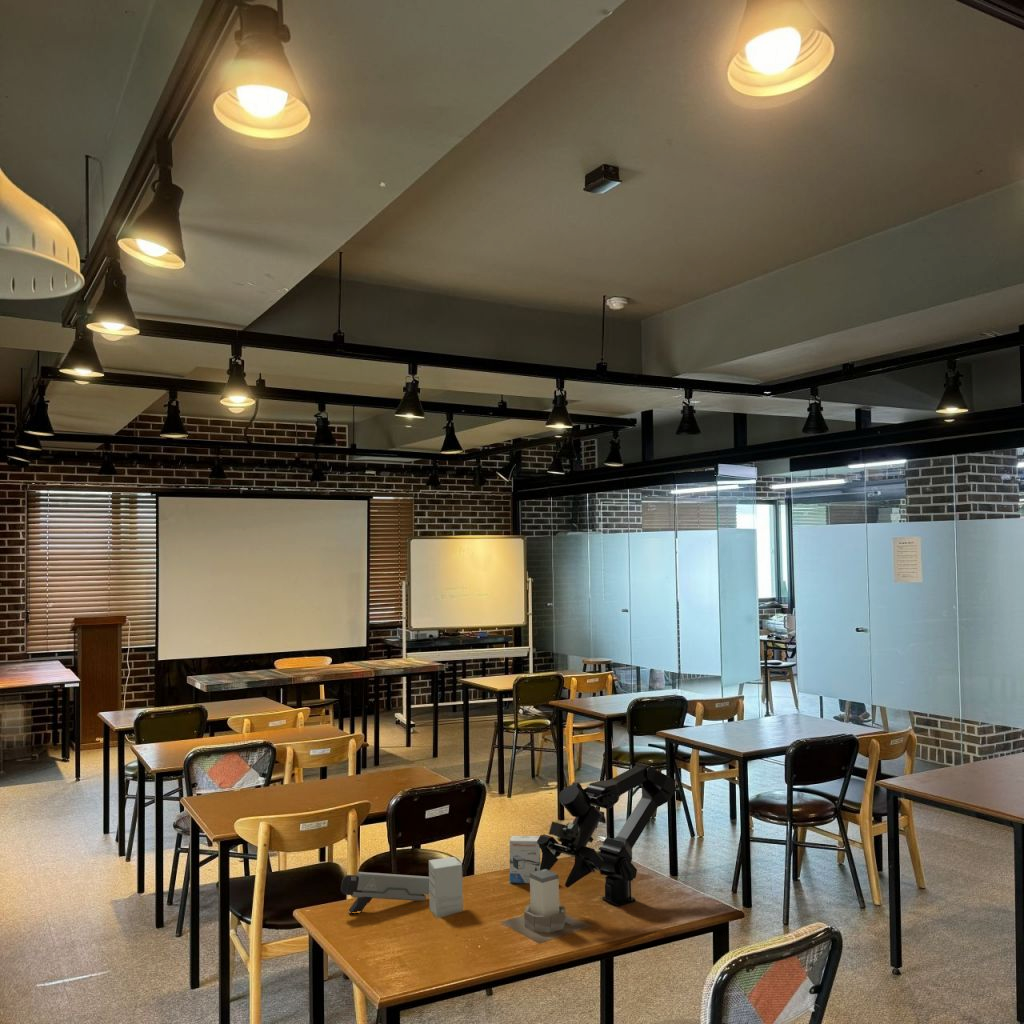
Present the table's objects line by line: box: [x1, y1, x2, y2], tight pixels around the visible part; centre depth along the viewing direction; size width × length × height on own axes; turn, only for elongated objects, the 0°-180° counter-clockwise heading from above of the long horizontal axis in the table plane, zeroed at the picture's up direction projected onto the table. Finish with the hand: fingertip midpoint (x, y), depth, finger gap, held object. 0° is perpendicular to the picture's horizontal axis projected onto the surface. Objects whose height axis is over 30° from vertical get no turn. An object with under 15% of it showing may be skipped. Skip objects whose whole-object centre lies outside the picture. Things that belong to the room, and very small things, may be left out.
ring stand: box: [499, 904, 592, 944], centre depth 215 cm, size 16×16×5 cm
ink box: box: [509, 835, 541, 884], centre depth 250 cm, size 9×5×12 cm, turn 84°
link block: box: [529, 869, 560, 916], centre depth 215 cm, size 5×5×12 cm
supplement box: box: [428, 856, 464, 919], centre depth 228 cm, size 7×7×13 cm
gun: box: [340, 871, 429, 913], centre depth 232 cm, size 2×25×10 cm, turn 117°
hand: (552, 882), depth 218 cm, fingers open, 9 cm apart
